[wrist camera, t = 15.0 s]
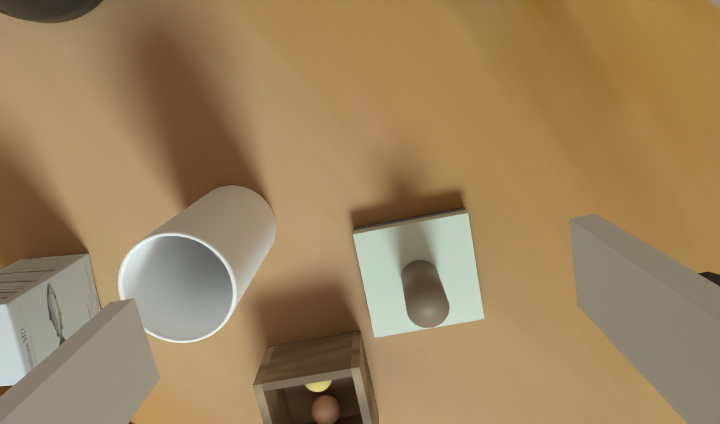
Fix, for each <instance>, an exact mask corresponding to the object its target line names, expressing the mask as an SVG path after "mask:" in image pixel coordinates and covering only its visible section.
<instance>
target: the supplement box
mask: <svg viewBox="0 0 720 424" xmlns="http://www.w3.org/2000/svg"><path fill="white" fill-rule="evenodd" d="M100 311H101V308H100V304H99V300H98V296H97V292H96V288H95V283H94V278H93V273H92V269H91V263H90V258H89V254H88V253H86V254H75V255H63V256H51V257H39V258H27V259H21V260H19V261H16V262H14V263H12V264H10V265H8V266H6V267H4V268H2V269H0V386H7V385H15V384H16V383H17V382H18V381H19V380H21V379H22V378H23V377H24V376H25V375H26V374H28V373H29V372H30V371H31V370H32V369H33V368H35V367H36V366H37V365H38V364H39V363H40V362H42V361H43V360H44V359H45V358H46V357H47V356H48V355H50V354H51V353H52V352H53V351H54V350H55V349H57V348H58V347H59V346H60V345H61V344H62V343H64V342H65V341H66V340H67V339H68V338H69V337H71V336H72V335H73V334H74V333H75V332H76V331H77V330H79V329H80V328H81V327H82V326H83V325H84V324H86V323H87V322H88V321H89V320H90V319H91V318H93V317H94V316H95V315H96V314H97V313H98V312H100Z"/></svg>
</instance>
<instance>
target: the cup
mask: <svg viewBox="0 0 720 424" xmlns="http://www.w3.org/2000/svg"><path fill="white" fill-rule="evenodd" d="M275 234H276V221H275V217H274V214H273V211H272V209H271V207H270V206H269V204H268V203H267V202H266V201H265V199H264V198H263V197H261V196H260V195H259V194H258V193H256V192H255V191H253V190H251V189H248V188H246V187H242V186H236V185H229V186H222V187H219V188H216V189H214V190H212V191H210V192H209V193H207V194H206V195H205V196H203V197H202V198H200V199H199V200H197V201H196V202H195V203H193V204H192V205H190V206H189V207H187V208H186V209H185V210H183V211H182V212H180V213H179V214H177V215H176V216H175V217H173V218H172V219H170V220H169V221H168V222H166V223H165V224H163V225H162V226H160V227H159V228H158V229H156V230H155V231H153V232H152V233H150V234H149V235H148V236H146V237H145V238H143V239H142V240H141V241H139V242H138V243H137V244H136V245H135V246H134V247H133V248H132V249H131V250H130V251H129V252H128V253H127V255H126V256H125V258H124V260H123V262H122V264H121V267H120V270H119V274H118V291H119V296H120V299H121V300H126V299H132V298H134V300H135V303H136V306H137V309H138V312H139V315H140V318H141V321H142V324H143V327H144V330H145V331H146V332H147V333H149V334H151V335H153V336H155V337H157V338H159V339H162V340H166V341H170V342H178V343H186V342H194V341H198V340H201V339H204V338H206V337H208V336H210V335H212V334H214V333H215V332H216V331H218V330H219V329H220V328H221V327H222V326H223V325H224V324H225V323H226V321H227V320H228V319H229V317H230V316H231V314H232V313H233V311H234V309H235V307H236V306H237V304H238V302H239V301H240V299H241V297H242V296H243V294H244V292H245V290H246V289H247V287H248V285H249V284H250V282H251V280H252V278H253V277H254V275H255V273H256V272H257V270H258V268H259V267H260V265H261V263H262V261H263V260H264V258H265V256H266V255H267V253H268V251H269V249H270V248H271V246H272V244H273V242H274V239H275Z"/></svg>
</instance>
